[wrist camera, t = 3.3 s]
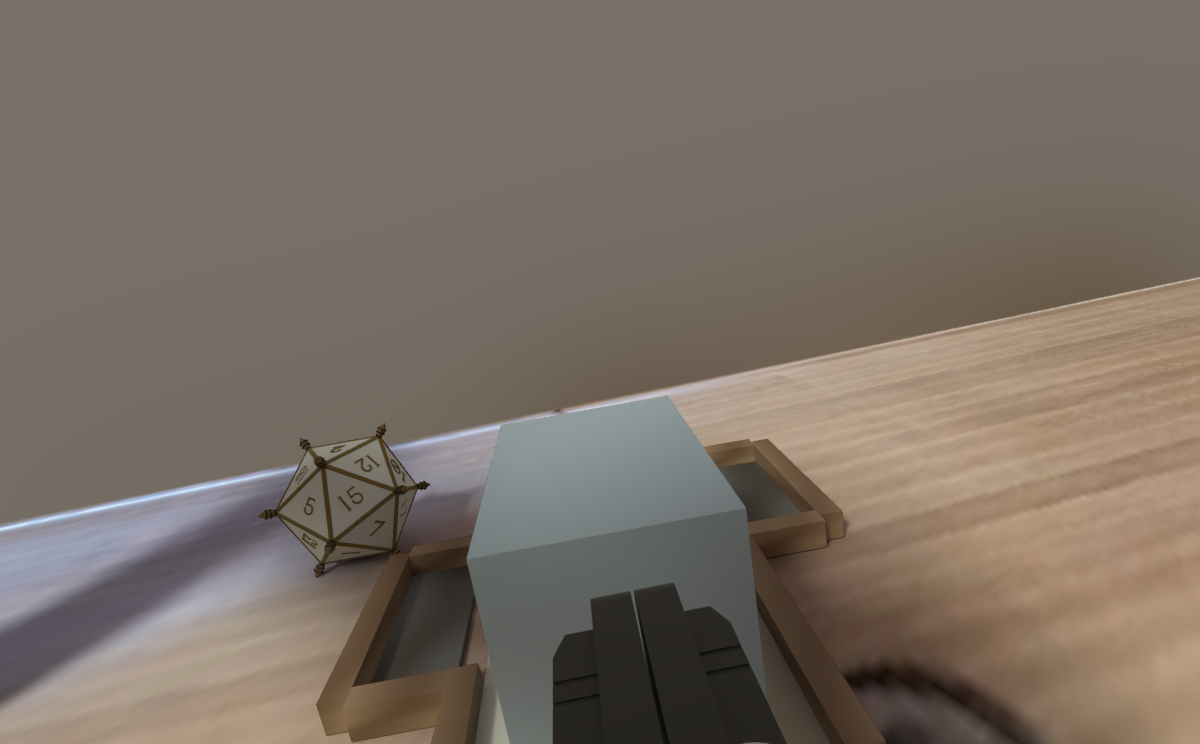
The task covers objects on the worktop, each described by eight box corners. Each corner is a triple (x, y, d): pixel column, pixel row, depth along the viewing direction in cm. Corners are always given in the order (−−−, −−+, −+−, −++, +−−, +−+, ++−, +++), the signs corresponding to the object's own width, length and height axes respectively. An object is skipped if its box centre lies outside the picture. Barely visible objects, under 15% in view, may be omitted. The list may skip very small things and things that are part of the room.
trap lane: (248, 911, 18) (232, 872, 17) (434, 491, 47) (430, 473, 46) (1046, 748, 19) (1047, 708, 18) (747, 435, 48) (745, 417, 47)
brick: (526, 813, 19) (466, 559, 17) (535, 591, 31) (501, 425, 29) (774, 763, 19) (746, 508, 17) (690, 562, 31) (667, 395, 29)
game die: (351, 611, 39) (254, 494, 40) (456, 520, 43) (365, 414, 43) (330, 617, 31) (209, 469, 32) (462, 504, 34) (350, 373, 35)
